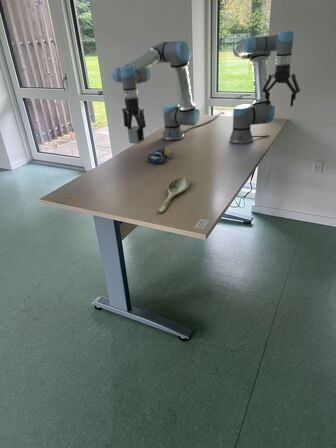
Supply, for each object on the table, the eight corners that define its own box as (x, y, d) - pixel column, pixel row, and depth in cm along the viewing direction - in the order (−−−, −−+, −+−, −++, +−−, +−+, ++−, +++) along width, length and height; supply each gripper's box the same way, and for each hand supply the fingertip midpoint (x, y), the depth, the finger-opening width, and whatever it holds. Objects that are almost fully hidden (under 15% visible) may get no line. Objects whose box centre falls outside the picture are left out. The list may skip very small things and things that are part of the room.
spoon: (171, 216, 152) (170, 213, 151) (149, 214, 155) (149, 210, 154) (193, 181, 178) (193, 177, 177) (174, 179, 182) (174, 176, 180)
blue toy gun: (178, 153, 218) (158, 152, 224) (177, 147, 215) (157, 146, 222) (164, 166, 202) (142, 164, 209) (163, 159, 200) (141, 157, 206)
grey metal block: (129, 142, 193) (127, 128, 189) (136, 139, 198) (134, 125, 194) (138, 143, 190) (136, 129, 186) (144, 140, 195) (142, 126, 191)
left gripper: (113, 98, 184) (119, 139, 196) (141, 99, 174) (146, 143, 186) (121, 95, 189) (127, 136, 201) (149, 96, 179) (153, 139, 191)
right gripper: (258, 65, 182) (255, 105, 193) (305, 64, 170) (300, 107, 181) (262, 63, 187) (260, 102, 198) (309, 62, 175) (303, 104, 186)
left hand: (136, 139), depth 193 cm, fingers closed on grey metal block, 6 cm apart
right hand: (279, 105), depth 190 cm, fingers open, 13 cm apart
